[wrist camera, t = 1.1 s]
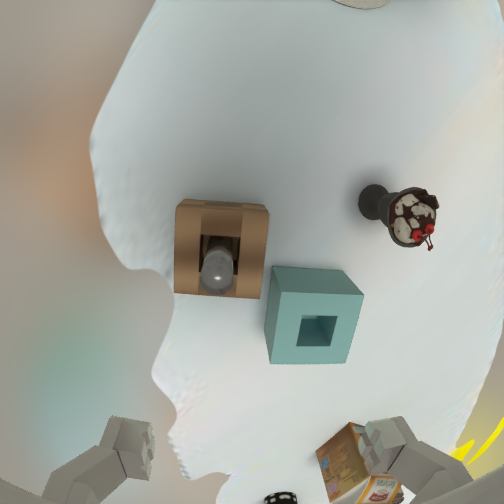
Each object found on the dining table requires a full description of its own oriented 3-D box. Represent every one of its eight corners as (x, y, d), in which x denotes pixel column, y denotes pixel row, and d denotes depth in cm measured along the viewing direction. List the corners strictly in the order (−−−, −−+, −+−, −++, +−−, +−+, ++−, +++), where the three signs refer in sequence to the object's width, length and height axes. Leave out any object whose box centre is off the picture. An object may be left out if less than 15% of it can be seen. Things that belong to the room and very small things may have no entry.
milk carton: (315, 450, 55) (335, 522, 37) (349, 421, 53) (379, 496, 35) (349, 458, 57) (371, 522, 39) (381, 431, 55) (412, 496, 37)
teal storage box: (272, 266, 42) (281, 291, 34) (342, 270, 42) (364, 295, 35) (264, 330, 45) (270, 364, 37) (329, 332, 45) (345, 363, 38)
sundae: (358, 232, 41) (415, 272, 27) (347, 185, 39) (405, 204, 25) (398, 219, 41) (464, 251, 26) (389, 173, 39) (458, 187, 24)
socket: (184, 199, 38) (175, 207, 32) (263, 205, 39) (269, 214, 33) (181, 273, 41) (173, 292, 35) (255, 279, 42) (259, 299, 36)
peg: (209, 230, 39) (200, 262, 27) (233, 231, 39) (234, 265, 27) (208, 253, 39) (199, 293, 28) (231, 254, 40) (232, 296, 28)
